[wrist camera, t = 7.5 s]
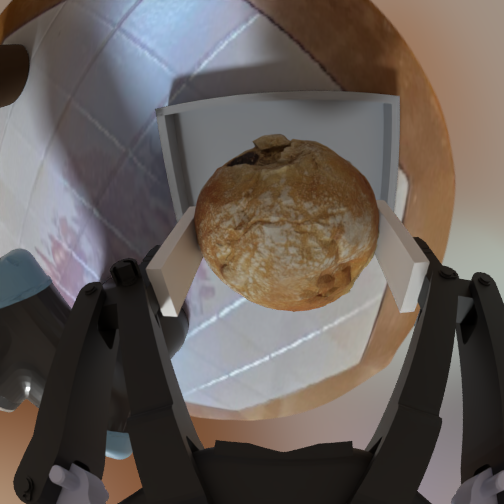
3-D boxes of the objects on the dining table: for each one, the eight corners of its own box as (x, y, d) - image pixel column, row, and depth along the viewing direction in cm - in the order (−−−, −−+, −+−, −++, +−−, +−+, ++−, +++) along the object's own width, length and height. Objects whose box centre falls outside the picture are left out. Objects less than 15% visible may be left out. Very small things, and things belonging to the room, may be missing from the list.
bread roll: (334, 112, 15) (325, 86, 8) (395, 256, 17) (417, 326, 10) (208, 178, 20) (134, 201, 13) (271, 298, 22) (232, 369, 15)
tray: (192, 242, 32) (185, 256, 30) (167, 106, 24) (155, 108, 22) (380, 236, 29) (388, 249, 27) (387, 95, 21) (399, 96, 19)
